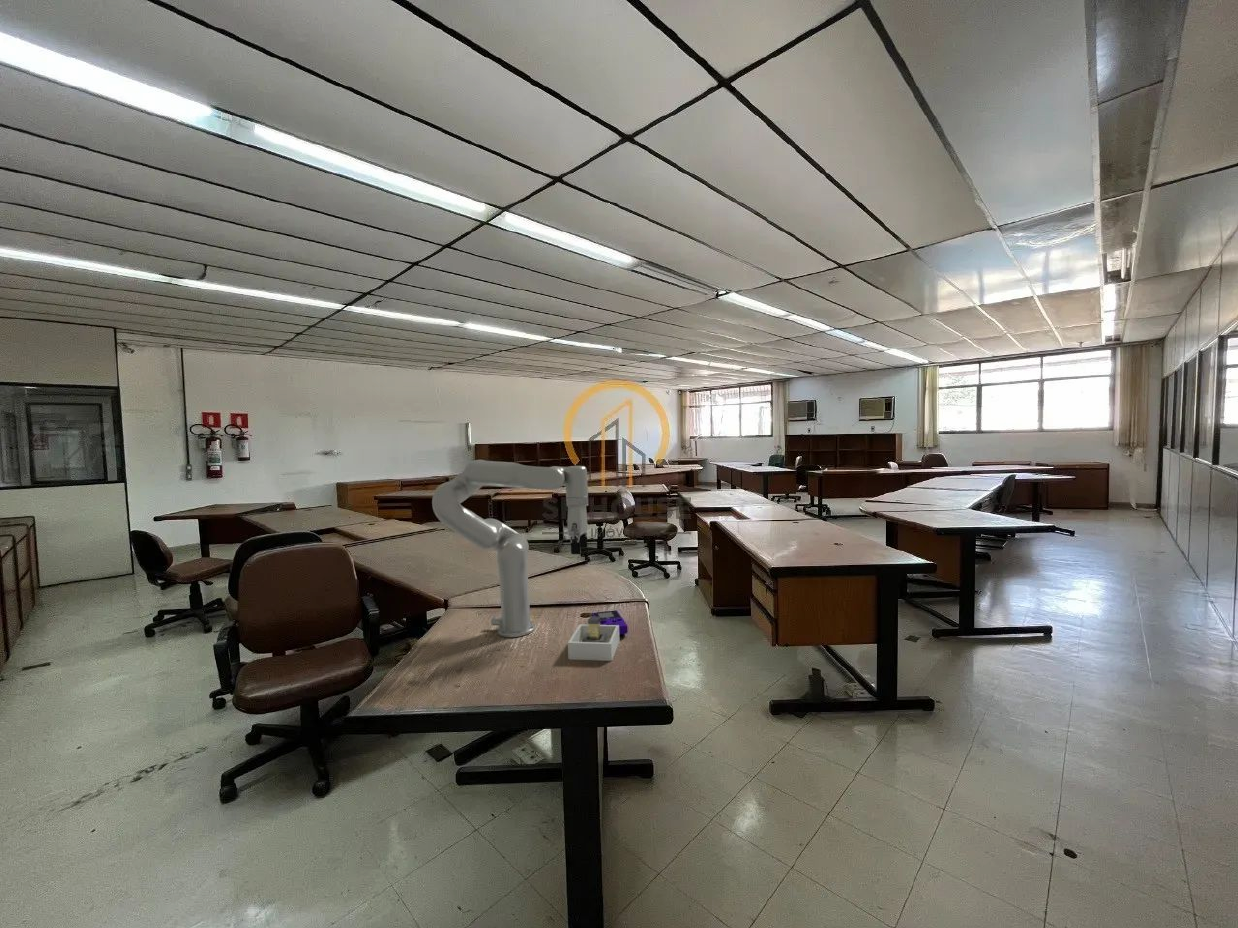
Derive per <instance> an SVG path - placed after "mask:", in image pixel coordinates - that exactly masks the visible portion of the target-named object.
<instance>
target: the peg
mask: <svg viewBox="0 0 1238 928" xmlns="http://www.w3.org/2000/svg"><path fill="white" fill-rule="evenodd" d="M587 620H588V621H587V625H588V629H589V640H600V639H601V630H600V617H596V616H592V615H591V616H589V617H588V619H587Z"/></svg>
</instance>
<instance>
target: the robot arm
mask: <svg viewBox="0 0 1238 928" xmlns="http://www.w3.org/2000/svg"><path fill="white" fill-rule="evenodd" d="M588 485H589V484H588V470H587V467H586V466H585V465H570V466H556V465H554V466H553V465H552V466H533V465H525V464H521V463H517V462H513V461H511V462H510V461H509V462H508V461H496V460H495V461H493V460H484V459H475V460H472V461H470V462H468V463H467V464H466V465H465V467H464V469H463V471H461V473H459V474H458V475H456V476H455V477H454V478H452V479H451V480H450V481H446V482H444V483H442V484H439V485H438V486H437V487H436V488H435V490H434V492H433V495H432V500H431V504H432V505H431V506H432V510H433V513H434V515H435V516H436V518H437V520H439V521H440V522H441V524H443V525H445V526H446V527H447V528H448V529H450V530H452V531H454V532H455V533H456V534H457V535H459V536H461V537H462V538H464V539H465V540H467V541H468V542H470V543H471V544H473V545H474V546H476V547H477V548H479V549H481V550H487V551H488V550H491V549H492V550H495V551H496V552H497V566H498V567H497V568H498V576H499V589H500V591H499V592H500V607H501V609H500V611H501V616H500V617H498V616H497V617H491V625H492V626H498V628H497V634H498V635H499V636H500V637H504V638H517V637H523V636H527V635H529V634H531V633H532V632H534V631H535V629H536V624H535V622H533V621H531V612H530V609H531V607H530V606H531V605H530V592H529V587H530V586H529V574H528V573H529V572H528V571H529V570H528V561H527V559H528V553H529V549H530V546H529V542H528V539H526V538H525V537H524V536H523V535H522V534H520V533H519V532H517V530H514V529H513V528H512V527H510V526H508V525H506V524H505V523H503V522H501V521H500V520H498V519H495V518H489V517H488V518H485V519H484V518H482V517H481V516H479V515H477V514H476V513H475V512H473V511H472V510H470V509H468V508H466V507H464V506H463V505H462V503H464V501H466V500H467V499H469V498H470V497H471V496H472V495H474V494H475V493H476V492H478V491H479V490H480V489H481V488H483V487H500V488H501V487H502V488H514V489H528V490H542V491H543V490H545V491H546V490H547V491H555V490H558V489H560V488H561V487H565V498H566V499H565V500H566V507H568V508H567V536H569V538H570V554H571V555H581V553H582V551H581V550H582V549H581V548H583V549H584V548H585V549H586V548H588V533H587V531H588V514H587V512H588V511H587V507H588V506H589V491H588V490H589V489H588Z"/></svg>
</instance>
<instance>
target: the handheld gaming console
mask: <svg viewBox="0 0 1238 928" xmlns="http://www.w3.org/2000/svg"><path fill="white" fill-rule="evenodd" d="M591 616H596V617H600V625H619V635H626V634H628V623H626V621H625V620H624V618H623V617H622V615H621V614H620V613H619V612H618V610H615V609H614V610H608V611H598V612H596V611H595V612H591Z"/></svg>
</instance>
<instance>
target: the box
mask: <svg viewBox="0 0 1238 928" xmlns="http://www.w3.org/2000/svg"><path fill="white" fill-rule="evenodd" d="M600 630H601V639H600V640H589V629H588V624H582V623H581V624H578V626H577V628H575V630H574V632H573V634H572V636H571V637H570V639H569V640H568V642H567V653H568V655H567V656H568V657H567V658H568V660H572V661H573V660H576V661H602V662H604V661H607V662H612V661H613V660H614V656H615V654H616V652H617V648H618V646H619V644H620V640H621V639H620V634H619V625H600Z"/></svg>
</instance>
